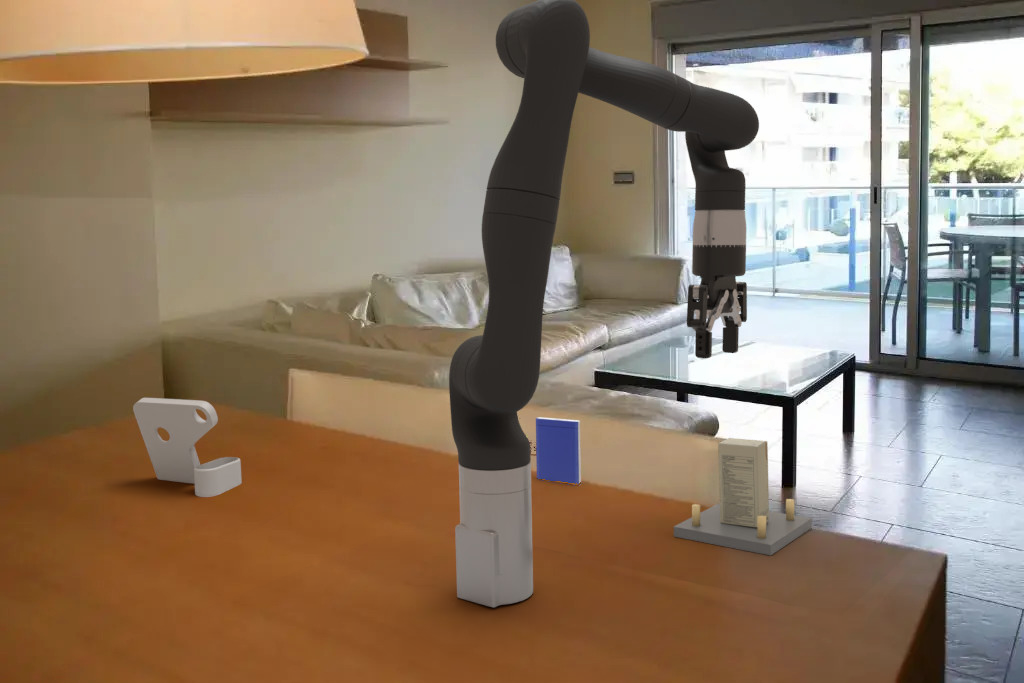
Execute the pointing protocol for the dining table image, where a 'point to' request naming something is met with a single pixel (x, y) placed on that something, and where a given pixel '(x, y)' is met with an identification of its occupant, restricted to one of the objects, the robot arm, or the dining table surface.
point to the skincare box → (743, 481)
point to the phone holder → (184, 444)
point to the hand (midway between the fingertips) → (717, 355)
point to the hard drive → (558, 450)
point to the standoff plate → (744, 530)
